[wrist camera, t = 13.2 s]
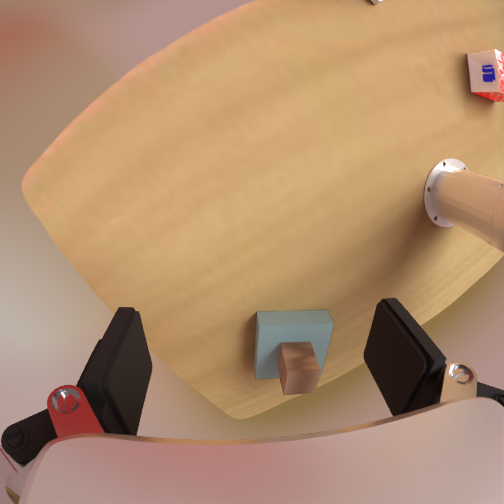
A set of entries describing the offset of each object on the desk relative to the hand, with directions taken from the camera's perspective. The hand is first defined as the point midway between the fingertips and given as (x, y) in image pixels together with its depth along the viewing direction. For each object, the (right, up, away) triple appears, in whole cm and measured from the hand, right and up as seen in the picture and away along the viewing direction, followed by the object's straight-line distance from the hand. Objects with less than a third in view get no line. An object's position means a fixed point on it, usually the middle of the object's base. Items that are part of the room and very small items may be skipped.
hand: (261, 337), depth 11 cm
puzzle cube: (+43, +36, +23) cm, 60 cm away
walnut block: (+7, -14, +36) cm, 39 cm away
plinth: (+6, -12, +39) cm, 42 cm away
